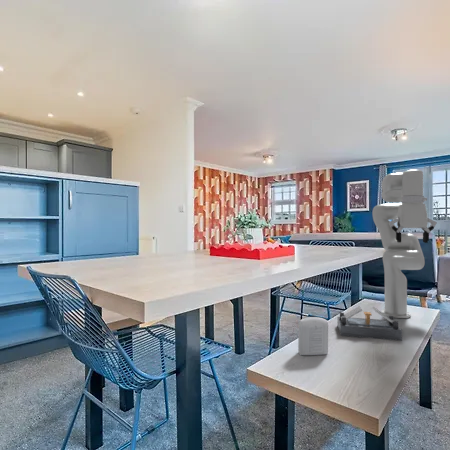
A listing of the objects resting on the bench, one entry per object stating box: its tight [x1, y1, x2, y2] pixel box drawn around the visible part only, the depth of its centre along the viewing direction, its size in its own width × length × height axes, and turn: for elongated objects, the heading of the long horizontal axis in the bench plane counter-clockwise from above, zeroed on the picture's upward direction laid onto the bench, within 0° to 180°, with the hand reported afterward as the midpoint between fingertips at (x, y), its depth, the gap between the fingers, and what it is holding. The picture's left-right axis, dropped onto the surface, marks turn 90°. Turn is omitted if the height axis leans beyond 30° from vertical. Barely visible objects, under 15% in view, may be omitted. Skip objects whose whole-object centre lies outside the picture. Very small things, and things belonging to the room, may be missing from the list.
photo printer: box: [297, 316, 329, 356], centre depth 107 cm, size 10×4×12 cm, turn 98°
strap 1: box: [341, 305, 363, 320], centre depth 128 cm, size 9×5×1 cm
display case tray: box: [336, 311, 403, 341], centre depth 127 cm, size 12×22×8 cm, turn 76°
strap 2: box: [372, 306, 395, 324], centre depth 125 cm, size 9×5×1 cm
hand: (412, 242), depth 128 cm, fingers open, 9 cm apart
